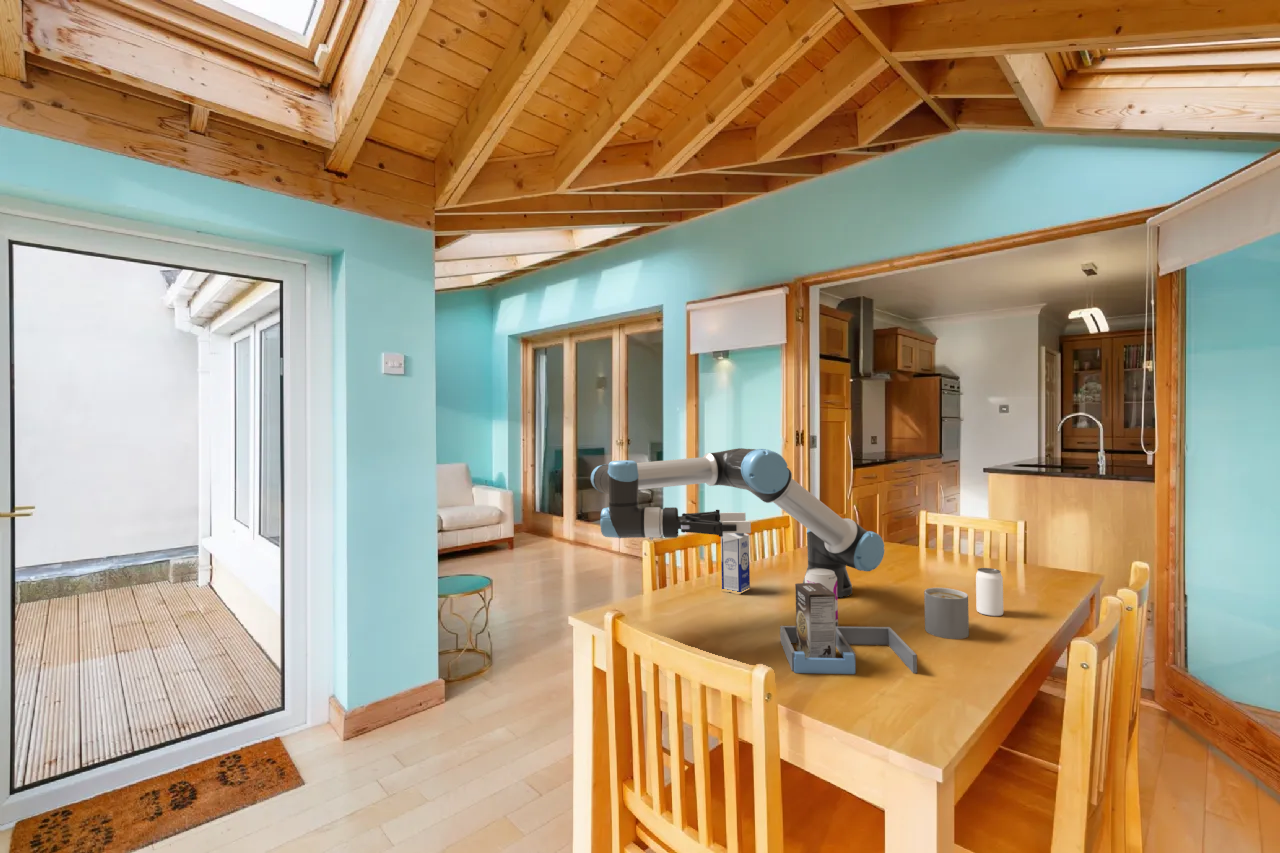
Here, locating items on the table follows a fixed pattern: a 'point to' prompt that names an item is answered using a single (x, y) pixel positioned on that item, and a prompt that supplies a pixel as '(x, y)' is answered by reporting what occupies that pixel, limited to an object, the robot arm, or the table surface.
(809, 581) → the supplement can
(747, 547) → the milk carton
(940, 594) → the coffee mug
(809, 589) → the coffee box
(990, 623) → the table surface
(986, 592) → the can
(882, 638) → the divider rack
